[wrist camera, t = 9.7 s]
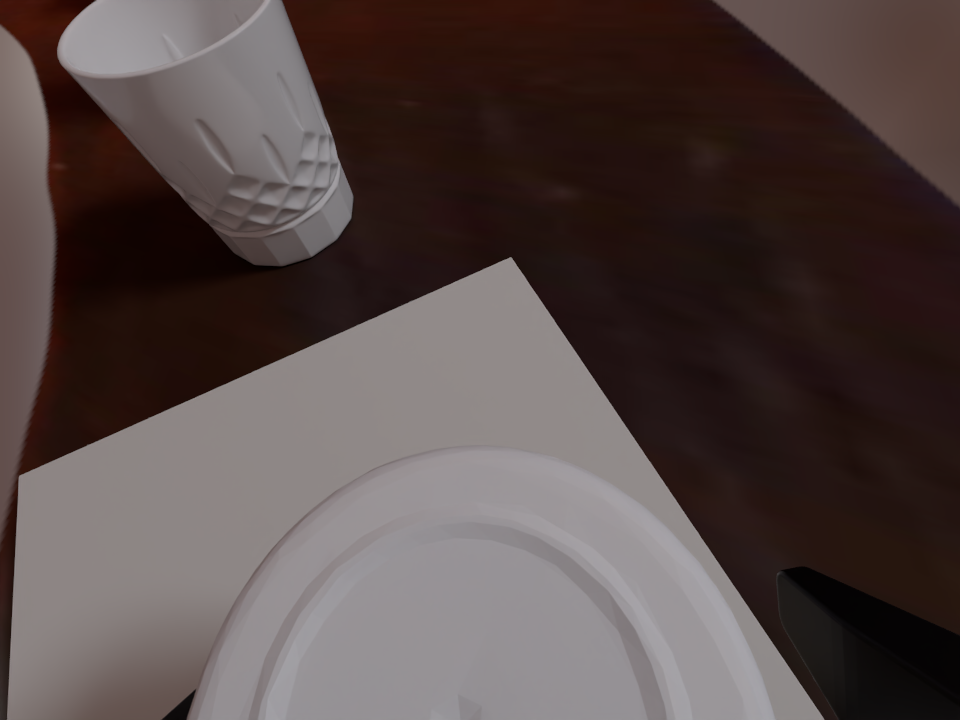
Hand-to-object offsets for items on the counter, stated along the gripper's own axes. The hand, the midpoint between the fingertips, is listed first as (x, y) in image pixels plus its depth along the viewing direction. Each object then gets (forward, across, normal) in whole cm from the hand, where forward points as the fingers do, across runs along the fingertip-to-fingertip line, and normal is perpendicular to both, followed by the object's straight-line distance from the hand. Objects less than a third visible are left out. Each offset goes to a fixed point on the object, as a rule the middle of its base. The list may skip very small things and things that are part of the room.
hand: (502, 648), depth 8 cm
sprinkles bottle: (+6, 0, +6) cm, 9 cm away
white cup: (+21, +8, -9) cm, 24 cm away
